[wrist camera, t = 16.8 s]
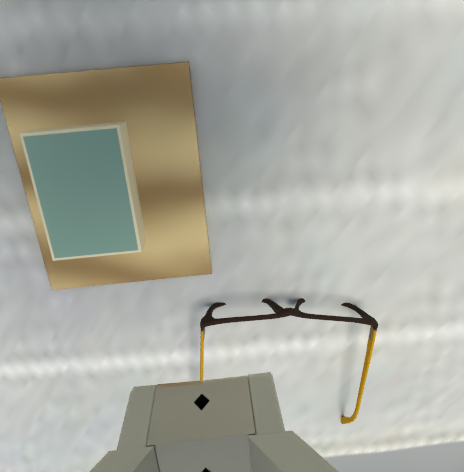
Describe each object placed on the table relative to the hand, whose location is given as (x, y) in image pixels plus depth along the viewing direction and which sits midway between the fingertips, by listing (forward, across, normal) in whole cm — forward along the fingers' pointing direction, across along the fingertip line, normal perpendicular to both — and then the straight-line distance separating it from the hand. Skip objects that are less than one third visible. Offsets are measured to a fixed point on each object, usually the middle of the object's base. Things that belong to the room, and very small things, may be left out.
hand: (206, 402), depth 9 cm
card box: (+22, +5, 0) cm, 22 cm away
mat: (+23, +7, 0) cm, 24 cm away
